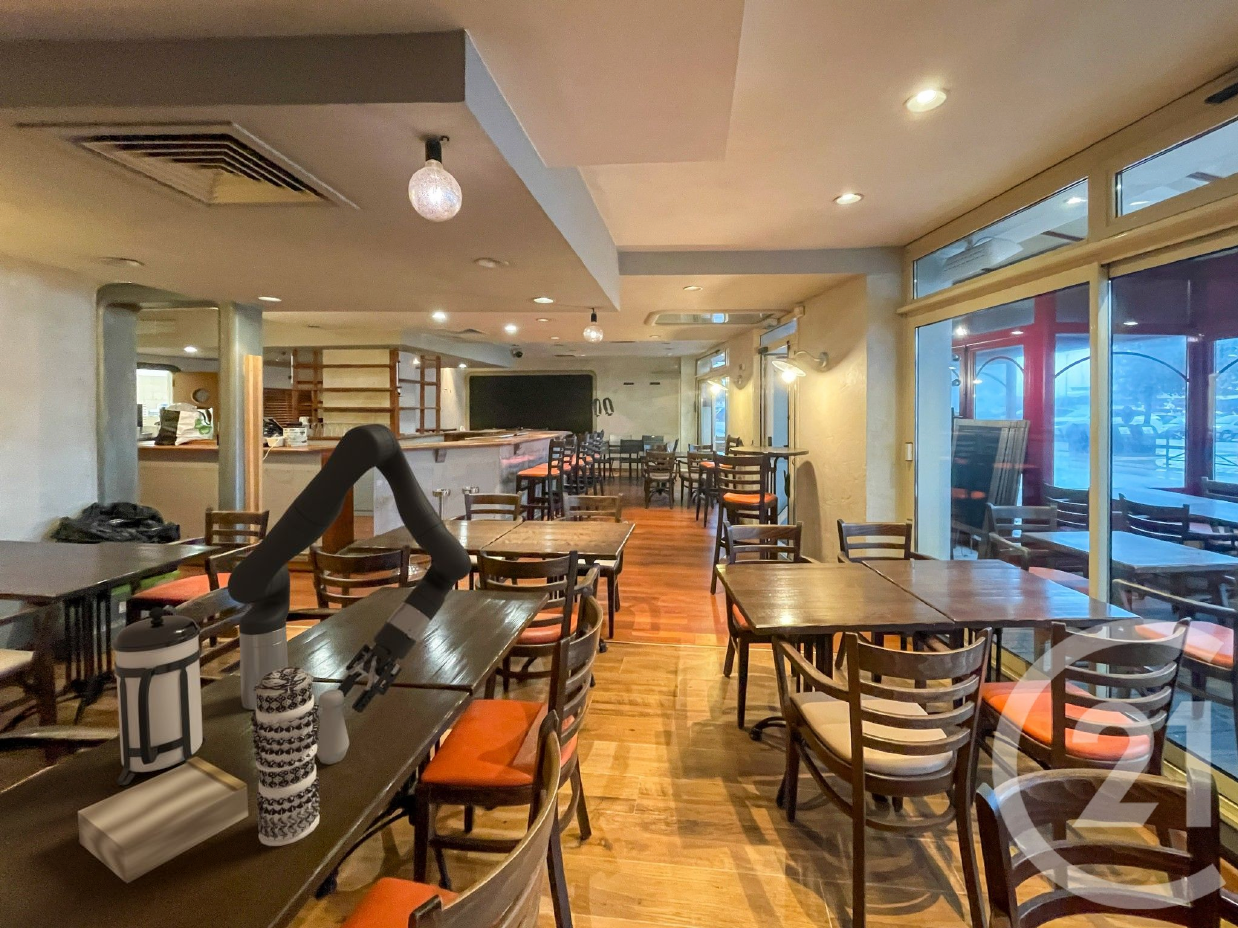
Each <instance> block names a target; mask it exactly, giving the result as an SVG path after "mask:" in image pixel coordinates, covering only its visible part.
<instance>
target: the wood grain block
mask: <svg viewBox="0 0 1238 928" xmlns="http://www.w3.org/2000/svg"><path fill="white" fill-rule="evenodd" d="M248 801H249V800H248V784H247V783H246V782H245V781H242V780H240V779H239V778H237V777H235V776H233V775H232V774H229V773H227V772H225V771H224V770H222V769H221V768H219V767H217V766H215V765H214V764H212V763H210V762H208V761H206V760H204V759H202V758H200V757H199V756H193V758H192V759H190V760H188V763H186V764H183V765H179V766H177V767H175V768H173V769H170V770H168V771H166V772H163V773H161V774H159V775H157V776H155V777H152V778H150V779H148V780H145V781H144V782H141V783H139V784H136V785H134V786H132V787H130V788H127V789H125V790H123V791H121V792H118V793H116V794H114V795H112V796H110V797H107V798H105V799H103V800H100V801H98V802H96V803H94V804H91V805H89V806H87V807H84V808H82V809H80V810H77V820H78V821H77V823H78V824H77V825H78V835H79V836H78V838H79V840H78V841H79V844H80V845H81V846H83V848H84V849H86V850H88V851H89V852H90V853H91V855H93V856H94V857H96V858H97V860H99V861H100V862H101V863H102V864H103V865H105V866H106V867H107V868H108V869H110V870H111V871H112V872H113V873H114V874H115V875H116V876H117V877H119V878H120V879H121V880H122V881H123V882H124V883H126V884H129V883H131V882H133V881H134V880H136V879H138V878H140V877H142V876H143V875H145V874H147V873H149V872H151V871H153V870H154V869H156V868H157V867H159V866H161V865H164V864H165V863H167V862H168V861H170V860H172V859H174V858H176V857H177V856H179V855H181V854H183V853H184V852H186V851H188V850H190V849H191V848H193V847H195V846H197V845H199V844H200V843H202V842H205V841H206V840H208V839H209V838H211V837H213V836H215V835H217V834H219V833H221V832H222V831H224V830H225V829H227V828H229V827H231V826H233V825H235V824H236V823H238V822H239V821H241V820H243V819H245V818H247V817H249V803H248Z"/></svg>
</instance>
